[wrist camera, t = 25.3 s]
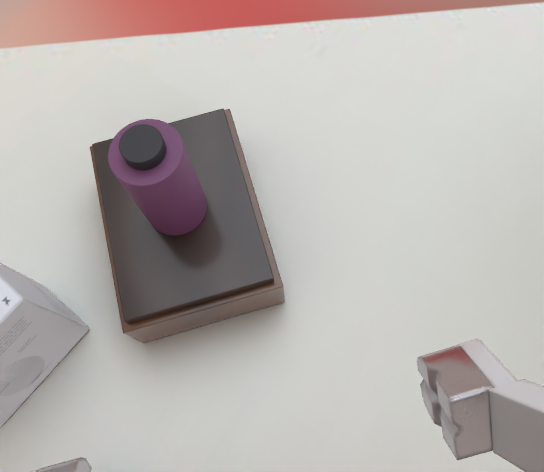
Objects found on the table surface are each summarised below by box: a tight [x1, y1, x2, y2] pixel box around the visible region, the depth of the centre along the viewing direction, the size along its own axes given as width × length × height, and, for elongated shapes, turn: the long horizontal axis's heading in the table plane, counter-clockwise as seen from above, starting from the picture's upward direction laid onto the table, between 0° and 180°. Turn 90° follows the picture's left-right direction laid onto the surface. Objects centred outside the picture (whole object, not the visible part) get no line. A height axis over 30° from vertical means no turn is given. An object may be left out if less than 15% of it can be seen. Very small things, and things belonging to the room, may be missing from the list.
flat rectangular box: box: [90, 109, 285, 343], centre depth 42 cm, size 12×16×6 cm
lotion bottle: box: [108, 119, 207, 236], centre depth 34 cm, size 5×5×10 cm
